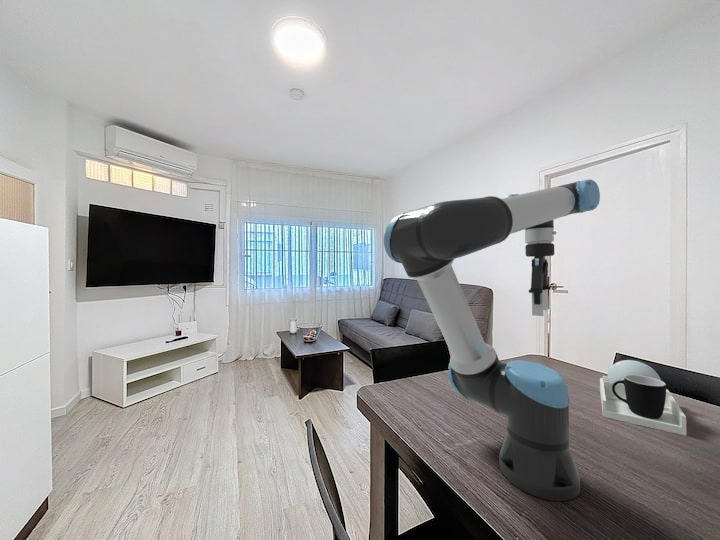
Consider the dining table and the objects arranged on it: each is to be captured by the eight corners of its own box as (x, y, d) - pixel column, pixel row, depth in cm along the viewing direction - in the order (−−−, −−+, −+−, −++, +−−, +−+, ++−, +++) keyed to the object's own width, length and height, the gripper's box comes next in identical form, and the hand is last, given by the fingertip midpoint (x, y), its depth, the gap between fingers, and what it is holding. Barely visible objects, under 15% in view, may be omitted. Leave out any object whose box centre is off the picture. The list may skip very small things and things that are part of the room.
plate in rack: (662, 406, 91) (661, 364, 91) (608, 395, 99) (607, 357, 99) (661, 404, 92) (660, 363, 92) (608, 394, 100) (607, 356, 100)
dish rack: (686, 435, 77) (686, 413, 77) (603, 416, 87) (602, 396, 87) (667, 404, 94) (667, 386, 94) (600, 391, 104) (599, 375, 104)
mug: (668, 414, 86) (667, 380, 86) (664, 425, 80) (663, 388, 80) (615, 400, 95) (615, 370, 95) (608, 409, 90) (608, 376, 90)
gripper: (550, 239, 76) (551, 319, 76) (557, 244, 96) (558, 308, 96) (518, 241, 81) (519, 317, 81) (531, 246, 100) (532, 307, 100)
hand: (540, 312), depth 88 cm, fingers open, 13 cm apart
